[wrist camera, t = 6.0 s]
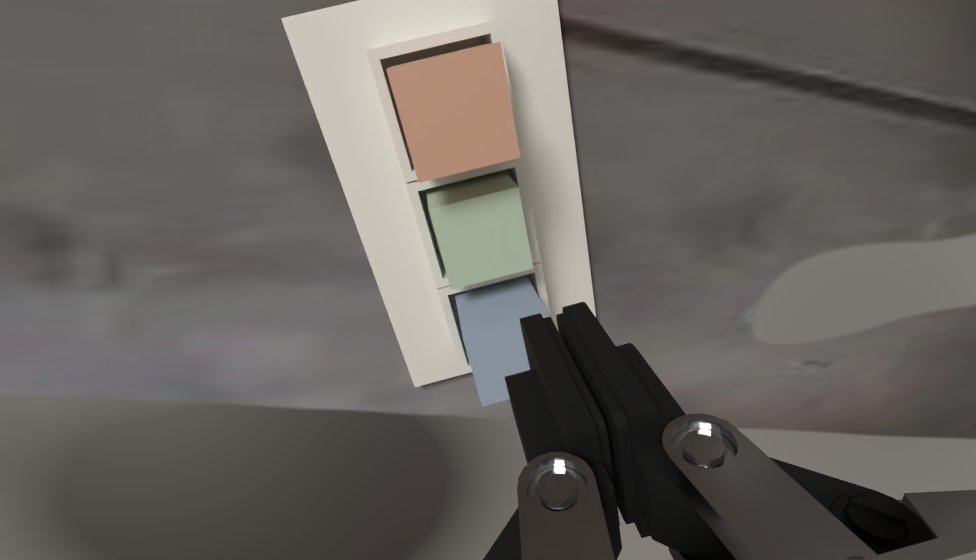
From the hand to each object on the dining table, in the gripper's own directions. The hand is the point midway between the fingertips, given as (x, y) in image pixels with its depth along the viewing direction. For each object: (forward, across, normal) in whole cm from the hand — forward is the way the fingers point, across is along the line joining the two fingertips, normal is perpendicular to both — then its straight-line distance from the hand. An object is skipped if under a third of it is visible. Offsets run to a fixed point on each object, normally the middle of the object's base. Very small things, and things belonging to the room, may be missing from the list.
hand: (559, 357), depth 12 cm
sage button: (+18, +1, +2) cm, 18 cm away
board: (+19, +1, +2) cm, 19 cm away
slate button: (+16, +1, +8) cm, 18 cm away
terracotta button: (+16, +1, -5) cm, 17 cm away
